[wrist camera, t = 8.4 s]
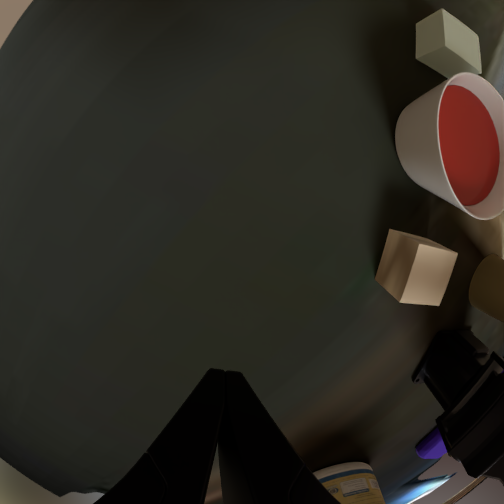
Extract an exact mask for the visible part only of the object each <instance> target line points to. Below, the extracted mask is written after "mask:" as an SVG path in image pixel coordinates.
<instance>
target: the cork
mask: <svg viewBox="0 0 504 504" xmlns="http://www.w3.org/2000/svg"><path fill="white" fill-rule="evenodd" d="M469 301H470V304H471V305H472V306H473V307H475V308H477V309H478V310H480V311H482V312H484V313H486V314H488V315H490V316H492V317H494V318H496V319H498V320H500V321H502V322H503V323H504V260H503V259H502V258H500V257H499V256H498V255H495V254H491V255H488V256H487V257H485V258H484V259H483V260H482V261H481V263H480V264H479V265H478V267H477V269H476V270H475V272H474V274H473V277H472V280H471V283H470V287H469Z"/></svg>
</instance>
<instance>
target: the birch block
mask: <svg viewBox="0 0 504 504" xmlns="http://www.w3.org/2000/svg"><path fill="white" fill-rule="evenodd" d="M457 255H458V253H456V252H454V251H452V250H450V249H448V248H446V247H444V246H442V245H440V244H438V243H436V242H434V241H432V240H430V239H428V238H424V237H420V236H416V235H413V234H409V233H405V232H401V231H397V230H393V229H389V233H388V236H387V240H386V244H385V247H384V251H383V254H382V258H381V261H380V264H379V267H378V271H377V274H376V277H375V280H376V281H377V282H378V283H379V284H380V285H381V286H382V287H384V288H385V289H386V290H387V291H388V292H389V293H390V294H391V295H392V296H393V297H394V298H395V299H396V300H398V301H399V302H400V303H410V304H422V305H434V306H439V305H440V303H441V300H442V298H443V295H444V293H445V290H446V287H447V285H448V282H449V279H450V276H451V273H452V270H453V267H454V264H455V261H456V258H457Z"/></svg>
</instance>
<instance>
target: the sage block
mask: <svg viewBox="0 0 504 504" xmlns="http://www.w3.org/2000/svg"><path fill="white" fill-rule="evenodd" d="M416 59H417V60H418V61H420V62H422V63H424V64H425V65H427V66H429V67H430V68H432V69H434V70H435V71H437V72H439V73H440V74H442V75H443V76H445V77H446V78H448V79H449V78H450V77H452V76H454V75H456V74H458V73H462V72H469V73H474V74H476V75H477V74H481V73H482V71H481V57H480V47H479V39H478V35H477V34H476V33H474V32H473V31H472V30H471V29H469V28H468V27H467V26H466V25H464V24H463V23H462V22H460V21H459V20H458V19H456V18H455V17H454V16H452V15H451V14H450V13H448V12H447V11H445V10H444V9H440V10H438V11H436V12H435V13H433V14H431V15H429V16H428V17H426V18H424V19H423V20H421V21H420V22H418V23H416Z"/></svg>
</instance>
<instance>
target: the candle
mask: <svg viewBox="0 0 504 504" xmlns="http://www.w3.org/2000/svg"><path fill="white" fill-rule="evenodd" d="M395 144H396V150H397V154H398V157H399V160H400V163H401V165H402V167H403V169H404V170H405V172H406V173H407V175H408V176H409V177H410V178H411V179H412V180H413V181H414V182H415V183H416V184H418V185H419V186H421V187H422V188H424V189H426V190H428V191H429V192H431V193H433V194H435V195H437V196H438V197H440V198H442V199H444V200H445V201H447V202H449V203H451V204H452V205H454V206H456V207H457V208H459V209H461V210H462V211H464V212H465V213H467V214H469V215H470V216H472V217H474V218H477V219H480V220H489V219H493V218H495V217H497V216H498V215H499V214H501V213H502V212H503V211H504V100H503V99H502V97H501V96H500V94H499V93H498V92H497V90H496V89H495V88H494V87H493V86H492V85H491V84H490V83H489V82H488V81H487V80H485V79H484V78H482V77H481V76H479V75H476V74H474V73H469V72H462V73H458V74H456V75H454V76H452V77H450V78H449V79H447V80H445V81H444V82H442V83H441V84H439V85H437V86H436V87H434V88H433V89H431V90H429V91H428V92H426V93H425V94H423V95H422V96H420V97H419V98H417V99H416V100H414V101H413V102H411V103H410V104H409V105H407V106H406V107H405V108H404V110H403V111H402V112H401V114H400V116H399V118H398V121H397V124H396V130H395Z"/></svg>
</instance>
